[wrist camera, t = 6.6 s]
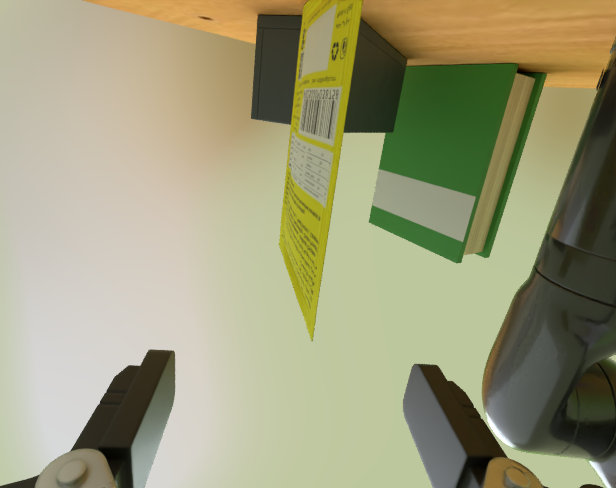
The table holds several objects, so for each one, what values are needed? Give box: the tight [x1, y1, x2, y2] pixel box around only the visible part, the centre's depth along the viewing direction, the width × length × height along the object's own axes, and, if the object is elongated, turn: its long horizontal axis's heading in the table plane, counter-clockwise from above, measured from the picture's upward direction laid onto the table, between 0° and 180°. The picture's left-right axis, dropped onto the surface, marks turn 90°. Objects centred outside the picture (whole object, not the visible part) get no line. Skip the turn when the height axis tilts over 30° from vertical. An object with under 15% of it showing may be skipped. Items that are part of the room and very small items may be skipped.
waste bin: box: [251, 15, 407, 133], centre depth 42 cm, size 10×20×9 cm, turn 25°
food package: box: [279, 0, 363, 341], centre depth 25 cm, size 15×1×20 cm, turn 168°
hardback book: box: [369, 63, 547, 263], centre depth 53 cm, size 18×7×24 cm, turn 147°
